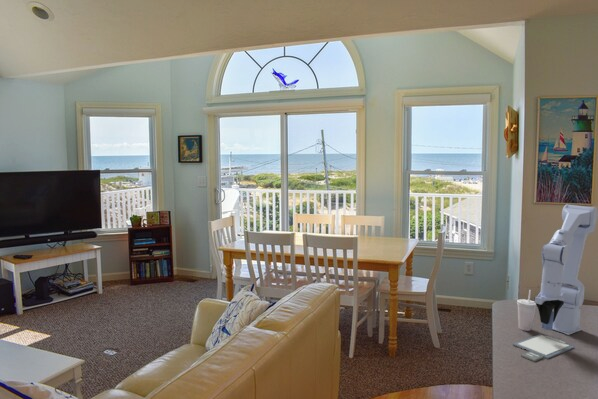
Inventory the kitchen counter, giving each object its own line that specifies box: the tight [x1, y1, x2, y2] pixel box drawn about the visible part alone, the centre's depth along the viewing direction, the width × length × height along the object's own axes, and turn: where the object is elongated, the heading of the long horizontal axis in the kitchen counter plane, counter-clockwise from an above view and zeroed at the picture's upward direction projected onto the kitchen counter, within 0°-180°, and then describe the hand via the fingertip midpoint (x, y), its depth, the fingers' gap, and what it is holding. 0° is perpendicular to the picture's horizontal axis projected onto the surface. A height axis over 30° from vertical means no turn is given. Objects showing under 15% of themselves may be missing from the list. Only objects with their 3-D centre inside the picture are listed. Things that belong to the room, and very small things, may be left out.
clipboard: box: [512, 334, 575, 360], centre depth 145 cm, size 16×11×1 cm
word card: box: [520, 351, 544, 362], centre depth 137 cm, size 5×4×1 cm
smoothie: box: [516, 289, 538, 332], centre depth 159 cm, size 6×6×14 cm
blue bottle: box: [541, 309, 554, 331], centre depth 148 cm, size 3×3×7 cm
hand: (547, 322), depth 148 cm, fingers closed on blue bottle, 3 cm apart
